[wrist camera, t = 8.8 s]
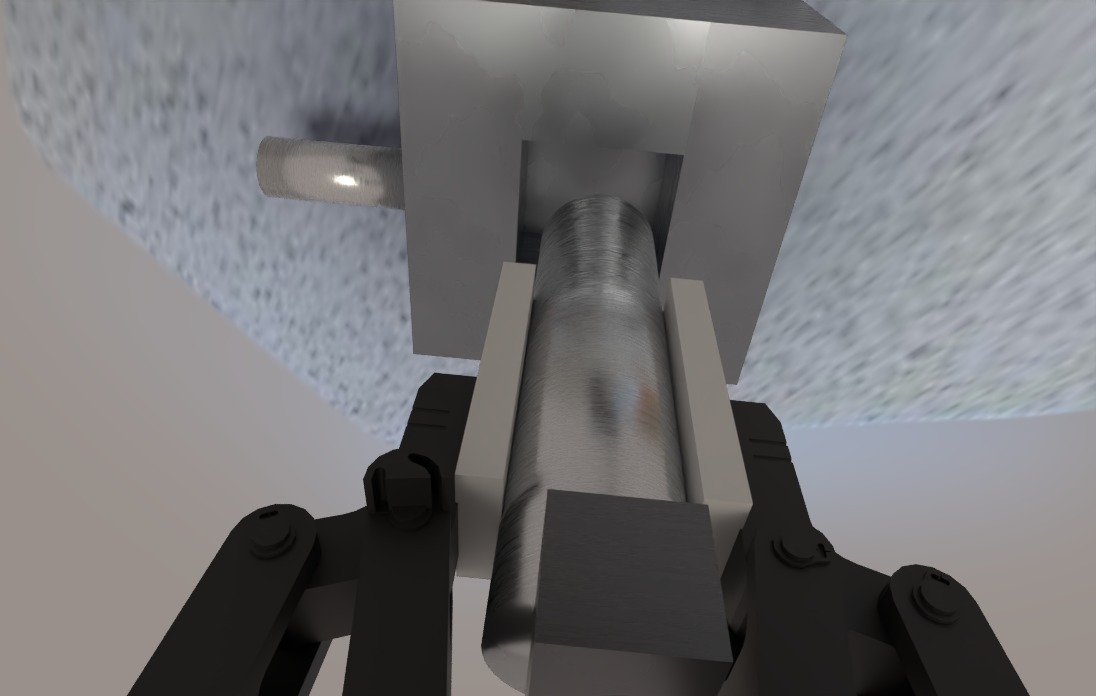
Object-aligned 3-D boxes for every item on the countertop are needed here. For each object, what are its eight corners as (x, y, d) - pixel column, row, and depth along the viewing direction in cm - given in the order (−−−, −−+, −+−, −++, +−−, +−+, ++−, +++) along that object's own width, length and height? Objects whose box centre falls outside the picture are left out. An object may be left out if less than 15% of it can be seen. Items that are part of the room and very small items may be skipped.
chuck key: (634, 349, 21) (669, 895, 10) (533, 339, 21) (461, 874, 10) (676, 131, 17) (810, 670, 6) (550, 119, 17) (458, 635, 6)
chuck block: (276, -50, 22) (203, -26, 18) (801, 0, 22) (847, 34, 18) (323, 272, 29) (279, 340, 25) (717, 309, 29) (736, 384, 25)
